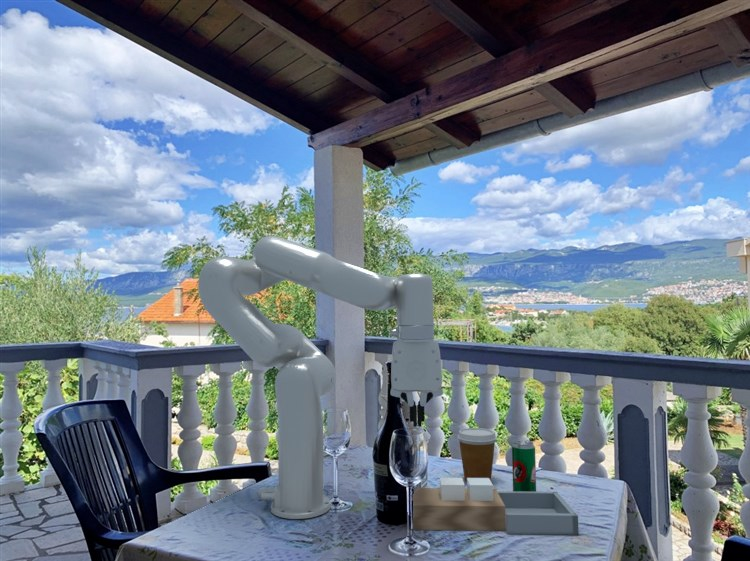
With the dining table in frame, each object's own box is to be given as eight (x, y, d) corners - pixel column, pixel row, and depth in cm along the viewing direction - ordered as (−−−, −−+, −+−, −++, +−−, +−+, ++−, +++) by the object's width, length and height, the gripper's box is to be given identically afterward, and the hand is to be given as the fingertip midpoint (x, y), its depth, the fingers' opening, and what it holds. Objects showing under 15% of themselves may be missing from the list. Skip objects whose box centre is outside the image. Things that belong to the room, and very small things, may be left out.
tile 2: (470, 500, 101) (469, 485, 101) (467, 492, 105) (466, 477, 105) (493, 501, 101) (493, 485, 101) (489, 493, 105) (489, 478, 105)
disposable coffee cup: (451, 477, 129) (450, 429, 130) (485, 474, 132) (484, 426, 133) (469, 489, 120) (468, 437, 121) (505, 485, 123) (504, 434, 124)
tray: (507, 534, 96) (507, 514, 96) (494, 508, 109) (494, 491, 109) (578, 535, 95) (578, 515, 95) (557, 508, 108) (556, 491, 108)
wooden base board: (410, 529, 98) (410, 505, 99) (409, 509, 108) (409, 487, 109) (505, 530, 97) (505, 506, 98) (496, 510, 107) (495, 488, 108)
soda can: (537, 500, 113) (536, 445, 114) (513, 499, 114) (512, 444, 115) (535, 493, 118) (533, 439, 119) (512, 491, 119) (511, 438, 120)
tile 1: (441, 500, 101) (441, 484, 101) (440, 492, 106) (439, 477, 106) (464, 500, 101) (464, 485, 101) (462, 492, 105) (461, 477, 105)
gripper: (378, 335, 102) (379, 429, 101) (453, 334, 102) (456, 429, 100) (379, 334, 110) (381, 421, 109) (450, 333, 109) (452, 421, 108)
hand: (417, 425), depth 104 cm, fingers closed
